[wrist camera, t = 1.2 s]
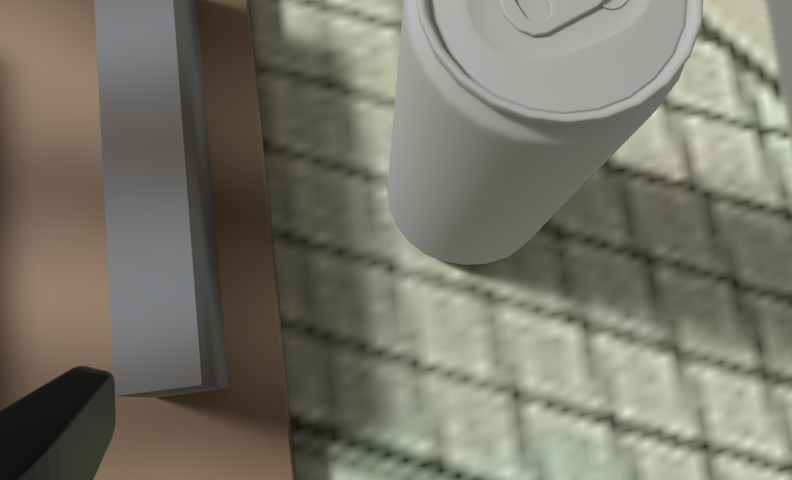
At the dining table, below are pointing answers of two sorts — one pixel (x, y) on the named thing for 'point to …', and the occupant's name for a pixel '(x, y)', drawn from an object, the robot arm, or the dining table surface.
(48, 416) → the robot arm
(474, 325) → the dining table surface
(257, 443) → the vise
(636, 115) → the beverage can
